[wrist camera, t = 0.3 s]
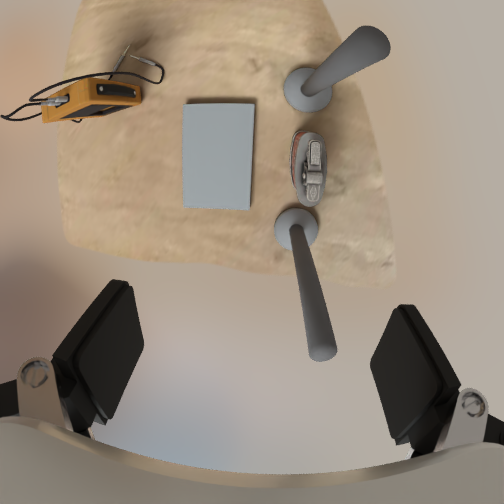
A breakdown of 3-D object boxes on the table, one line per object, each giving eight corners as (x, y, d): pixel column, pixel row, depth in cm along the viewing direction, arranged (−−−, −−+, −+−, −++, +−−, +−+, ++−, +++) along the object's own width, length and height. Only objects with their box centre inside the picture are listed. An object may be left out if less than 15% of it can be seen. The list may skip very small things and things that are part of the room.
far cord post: (275, 206, 37) (285, 318, 16) (319, 209, 37) (375, 319, 16) (272, 246, 40) (275, 377, 19) (313, 249, 40) (351, 376, 19)
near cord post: (284, 66, 29) (312, -16, 8) (331, 72, 28) (420, 14, 8) (282, 110, 31) (310, 85, 11) (329, 115, 31) (422, 110, 11)
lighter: (313, 190, 36) (329, 214, 27) (288, 190, 36) (296, 213, 27) (316, 131, 32) (334, 134, 23) (289, 129, 32) (298, 132, 23)
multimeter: (161, 34, 27) (77, -18, 9) (168, 97, 31) (75, 84, 13) (77, 67, 28) (-22, 62, 10) (82, 124, 32) (-21, 146, 14)
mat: (185, 104, 31) (183, 104, 30) (254, 104, 31) (254, 104, 30) (185, 205, 38) (183, 207, 37) (249, 208, 37) (249, 210, 36)
